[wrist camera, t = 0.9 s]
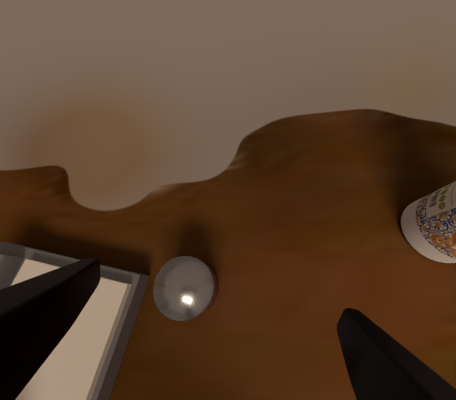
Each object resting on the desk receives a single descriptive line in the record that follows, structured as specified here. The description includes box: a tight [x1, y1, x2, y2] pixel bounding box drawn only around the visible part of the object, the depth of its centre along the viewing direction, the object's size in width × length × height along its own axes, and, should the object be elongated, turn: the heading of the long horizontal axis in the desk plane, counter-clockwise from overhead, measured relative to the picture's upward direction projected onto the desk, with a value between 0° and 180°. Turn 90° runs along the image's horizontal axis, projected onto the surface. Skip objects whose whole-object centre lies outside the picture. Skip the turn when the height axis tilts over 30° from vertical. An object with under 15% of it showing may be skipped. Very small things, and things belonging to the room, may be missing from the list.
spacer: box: [153, 256, 218, 321], centre depth 20 cm, size 5×5×5 cm
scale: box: [0, 241, 150, 400], centre depth 18 cm, size 20×16×5 cm
